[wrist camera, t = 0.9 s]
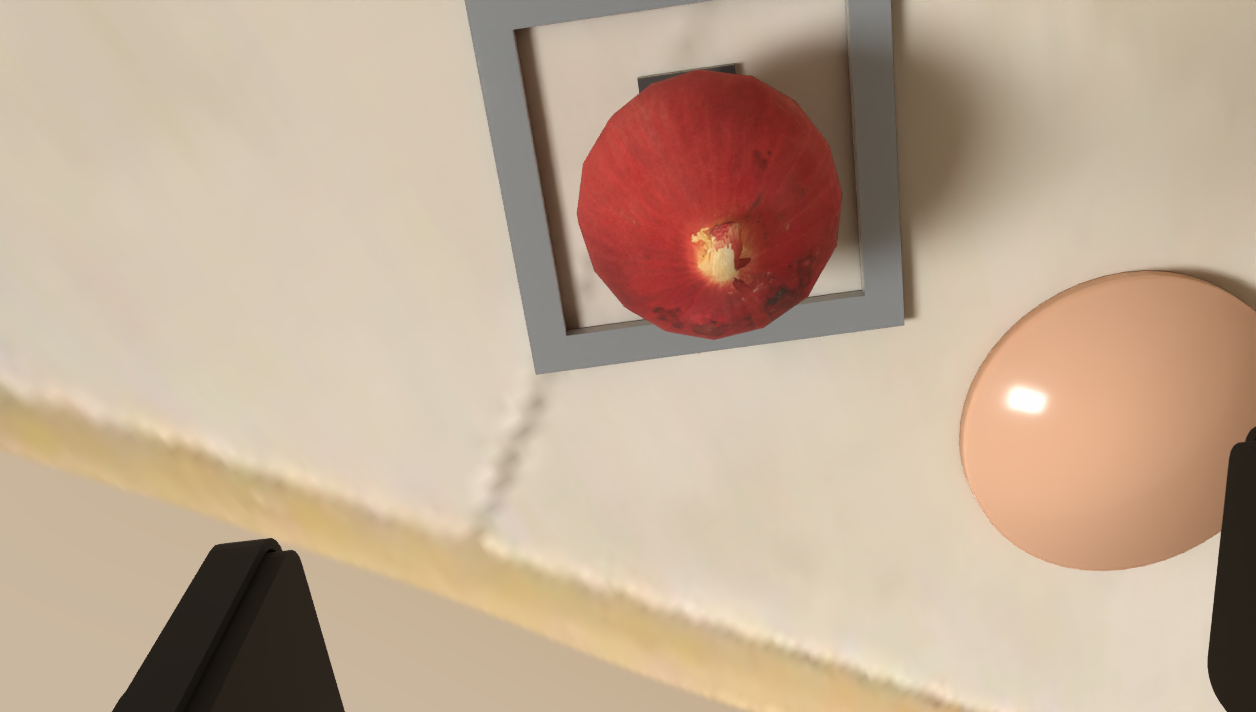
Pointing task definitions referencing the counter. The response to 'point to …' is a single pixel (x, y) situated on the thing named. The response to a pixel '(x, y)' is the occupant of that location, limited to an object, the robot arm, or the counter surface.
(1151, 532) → the disc
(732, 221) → the onion
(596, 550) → the counter surface
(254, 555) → the robot arm
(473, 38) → the frame
